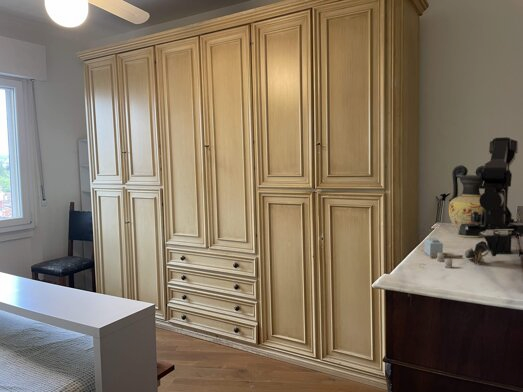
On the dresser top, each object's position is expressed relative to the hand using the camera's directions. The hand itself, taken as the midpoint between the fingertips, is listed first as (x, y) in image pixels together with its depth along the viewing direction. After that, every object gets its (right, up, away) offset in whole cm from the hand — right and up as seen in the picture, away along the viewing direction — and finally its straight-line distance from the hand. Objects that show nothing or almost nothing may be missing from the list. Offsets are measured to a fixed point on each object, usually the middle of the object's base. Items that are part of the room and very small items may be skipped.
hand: (493, 256), depth 128 cm
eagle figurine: (-3, -3, +3) cm, 5 cm away
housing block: (-13, -2, +14) cm, 19 cm away
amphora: (+16, +2, +46) cm, 49 cm away
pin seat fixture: (-11, -2, +6) cm, 13 cm away
